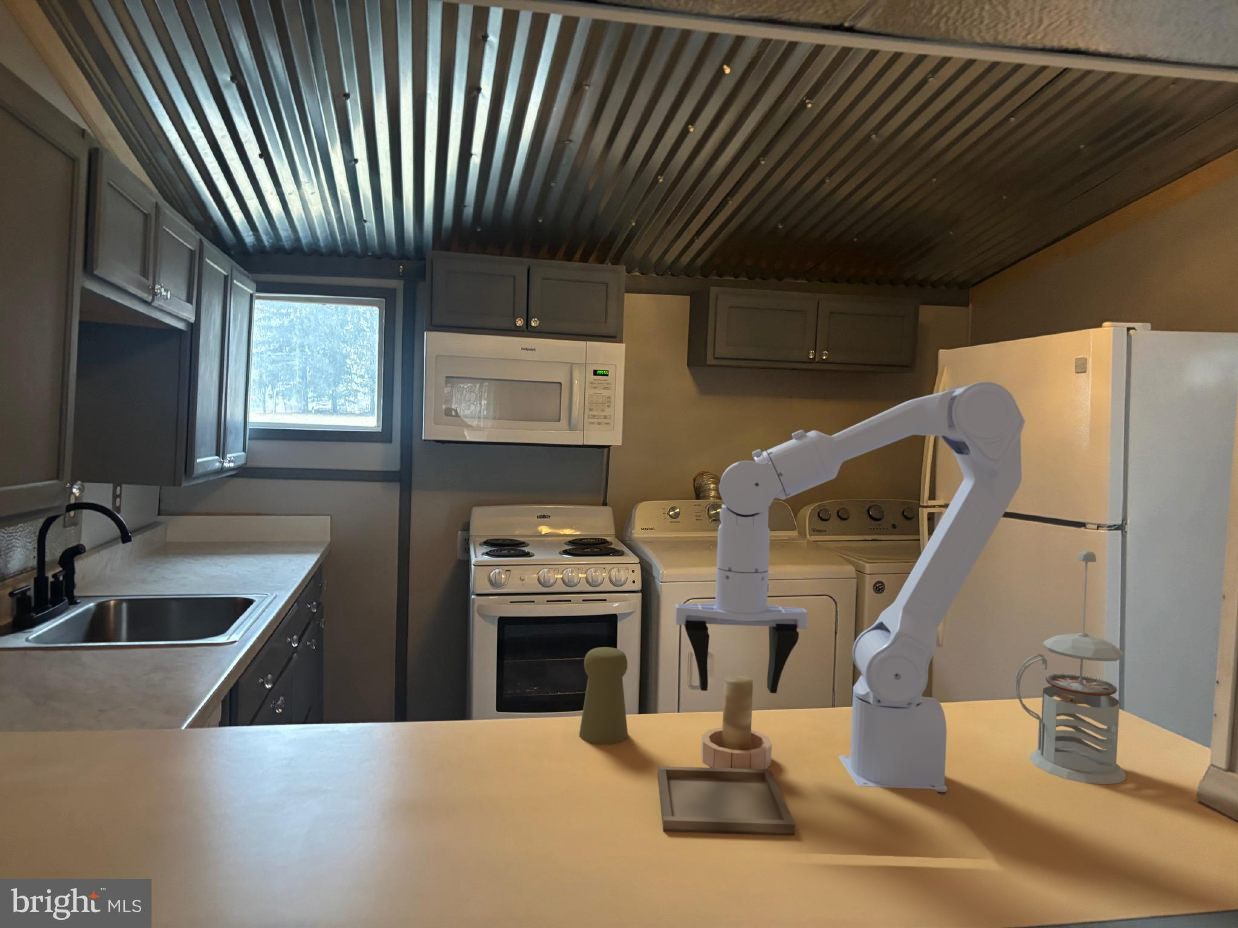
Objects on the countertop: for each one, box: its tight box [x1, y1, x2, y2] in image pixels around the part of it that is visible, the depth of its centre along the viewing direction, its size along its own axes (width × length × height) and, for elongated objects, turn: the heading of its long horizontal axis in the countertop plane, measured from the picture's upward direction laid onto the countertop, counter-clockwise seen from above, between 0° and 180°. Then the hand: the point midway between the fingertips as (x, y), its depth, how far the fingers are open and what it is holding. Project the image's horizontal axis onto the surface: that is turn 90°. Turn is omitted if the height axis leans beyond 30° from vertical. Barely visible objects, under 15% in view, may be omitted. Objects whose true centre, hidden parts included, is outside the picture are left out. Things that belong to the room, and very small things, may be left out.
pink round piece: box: [700, 726, 773, 770], centre depth 91 cm, size 8×8×3 cm
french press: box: [1014, 550, 1127, 785], centre depth 93 cm, size 10×12×25 cm
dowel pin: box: [721, 675, 754, 750], centre depth 90 cm, size 3×3×9 cm
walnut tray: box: [657, 765, 796, 837], centre depth 80 cm, size 12×12×2 cm
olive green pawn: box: [578, 646, 629, 746], centre depth 97 cm, size 6×6×11 cm
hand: (737, 689), depth 90 cm, fingers open, 7 cm apart
